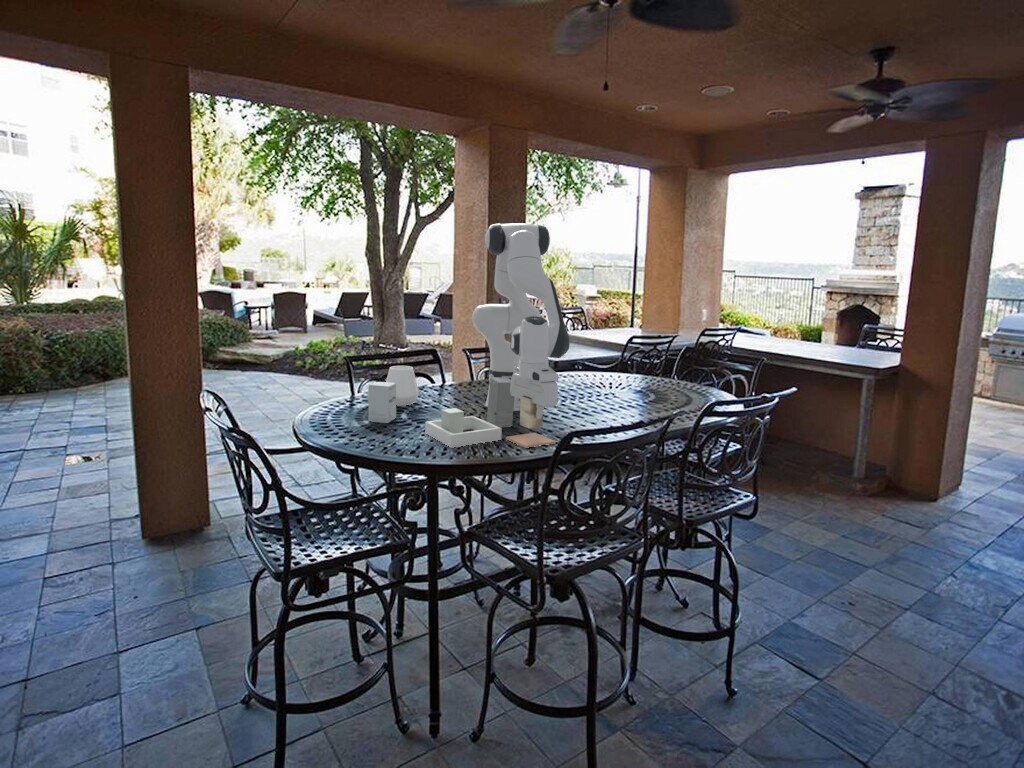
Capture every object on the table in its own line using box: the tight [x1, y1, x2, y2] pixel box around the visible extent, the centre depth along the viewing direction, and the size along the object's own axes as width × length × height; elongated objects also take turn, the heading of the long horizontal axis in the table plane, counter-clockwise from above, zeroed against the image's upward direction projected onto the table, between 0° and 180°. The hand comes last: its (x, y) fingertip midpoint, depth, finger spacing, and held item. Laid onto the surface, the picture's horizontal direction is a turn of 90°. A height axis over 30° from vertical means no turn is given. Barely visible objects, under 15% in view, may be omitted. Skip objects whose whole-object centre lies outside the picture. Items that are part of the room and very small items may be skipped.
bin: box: [424, 415, 503, 449], centre depth 194 cm, size 17×17×4 cm
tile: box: [505, 432, 556, 449], centre depth 192 cm, size 11×11×1 cm
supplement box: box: [367, 381, 397, 424], centre depth 211 cm, size 7×7×13 cm
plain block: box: [440, 407, 465, 434], centre depth 192 cm, size 5×5×9 cm
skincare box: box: [486, 377, 515, 428], centre depth 210 cm, size 8×7×16 cm
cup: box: [385, 365, 420, 407], centre depth 237 cm, size 13×13×14 cm
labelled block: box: [519, 395, 544, 429], centre depth 190 cm, size 5×5×9 cm
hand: (531, 415), depth 190 cm, fingers closed on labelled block, 5 cm apart
